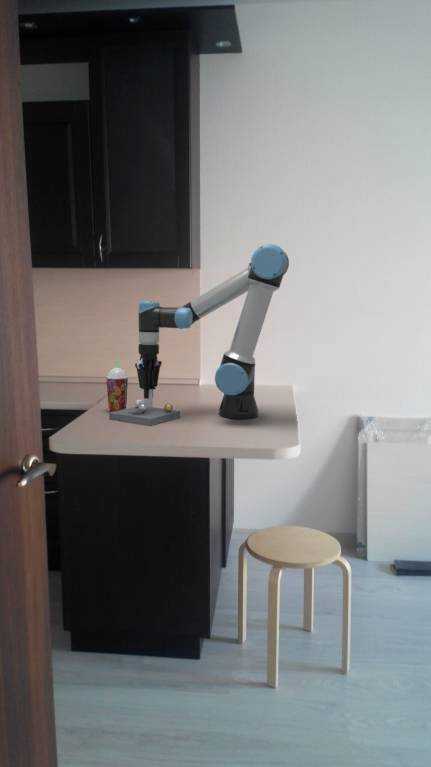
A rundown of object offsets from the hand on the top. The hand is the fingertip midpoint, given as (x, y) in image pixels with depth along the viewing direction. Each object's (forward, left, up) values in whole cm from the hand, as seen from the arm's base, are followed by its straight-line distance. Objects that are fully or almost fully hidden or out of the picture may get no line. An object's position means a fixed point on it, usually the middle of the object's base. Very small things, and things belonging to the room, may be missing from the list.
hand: (148, 406), depth 219 cm
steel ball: (0, +3, 0) cm, 3 cm away
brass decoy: (-7, -3, 0) cm, 8 cm away
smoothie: (+17, -2, -4) cm, 17 cm away
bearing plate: (0, +2, -4) cm, 5 cm away
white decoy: (+7, -3, 0) cm, 7 cm away
